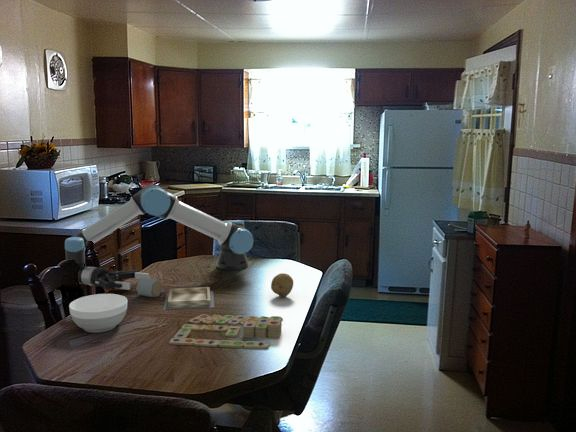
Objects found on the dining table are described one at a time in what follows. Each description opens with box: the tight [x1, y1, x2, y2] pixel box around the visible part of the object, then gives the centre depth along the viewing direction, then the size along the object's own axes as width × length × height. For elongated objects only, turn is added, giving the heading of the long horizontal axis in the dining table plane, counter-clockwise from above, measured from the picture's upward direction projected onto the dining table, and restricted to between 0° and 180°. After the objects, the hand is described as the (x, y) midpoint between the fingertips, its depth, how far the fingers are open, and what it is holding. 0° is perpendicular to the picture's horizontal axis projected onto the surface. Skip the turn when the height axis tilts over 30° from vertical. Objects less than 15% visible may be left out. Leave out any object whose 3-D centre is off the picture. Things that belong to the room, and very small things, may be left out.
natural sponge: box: [270, 272, 294, 298], centre depth 212 cm, size 9×9×10 cm
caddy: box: [168, 286, 211, 308], centre depth 208 cm, size 16×16×2 cm
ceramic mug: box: [136, 277, 165, 298], centre depth 214 cm, size 11×8×8 cm
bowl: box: [68, 293, 128, 333], centre depth 180 cm, size 19×19×9 cm
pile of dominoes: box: [168, 313, 284, 350], centre depth 178 cm, size 35×27×6 cm
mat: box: [163, 290, 215, 311], centre depth 208 cm, size 19×20×1 cm
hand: (139, 281), depth 213 cm, fingers open, 13 cm apart
